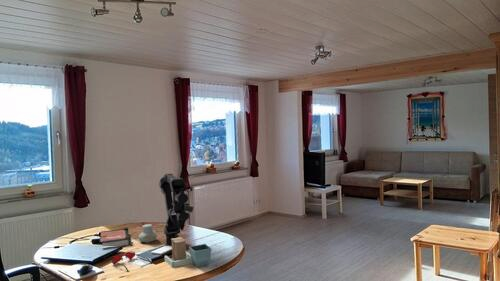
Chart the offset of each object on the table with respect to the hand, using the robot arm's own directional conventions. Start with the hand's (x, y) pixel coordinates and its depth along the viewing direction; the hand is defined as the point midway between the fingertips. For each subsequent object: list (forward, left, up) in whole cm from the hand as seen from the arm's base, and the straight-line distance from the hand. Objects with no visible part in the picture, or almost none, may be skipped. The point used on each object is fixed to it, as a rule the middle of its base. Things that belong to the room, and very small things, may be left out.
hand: (179, 228), depth 213 cm
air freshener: (-30, +14, -13) cm, 35 cm away
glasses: (-15, -24, -14) cm, 31 cm away
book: (-51, +10, -14) cm, 54 cm away
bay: (+7, -14, -13) cm, 20 cm away
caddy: (+7, -14, -13) cm, 20 cm away
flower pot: (+20, -17, -13) cm, 30 cm away
